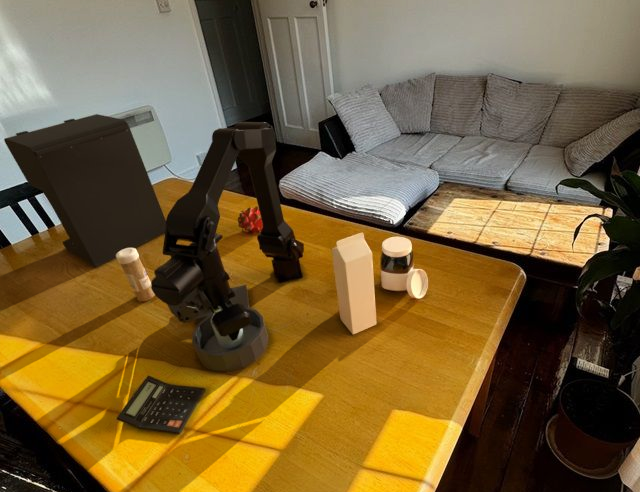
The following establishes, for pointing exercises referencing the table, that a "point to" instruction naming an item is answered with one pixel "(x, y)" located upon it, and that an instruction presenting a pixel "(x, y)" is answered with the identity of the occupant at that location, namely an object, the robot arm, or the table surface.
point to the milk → (354, 283)
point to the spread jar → (401, 268)
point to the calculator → (161, 406)
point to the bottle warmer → (230, 357)
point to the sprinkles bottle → (135, 273)
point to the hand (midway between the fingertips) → (229, 331)
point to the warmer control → (240, 298)
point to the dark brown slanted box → (92, 184)
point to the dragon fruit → (250, 220)
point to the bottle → (226, 340)
